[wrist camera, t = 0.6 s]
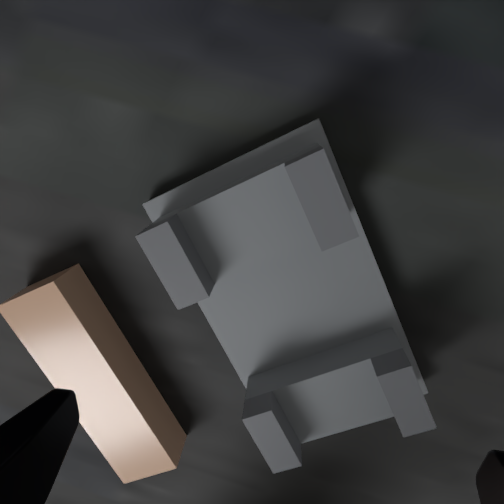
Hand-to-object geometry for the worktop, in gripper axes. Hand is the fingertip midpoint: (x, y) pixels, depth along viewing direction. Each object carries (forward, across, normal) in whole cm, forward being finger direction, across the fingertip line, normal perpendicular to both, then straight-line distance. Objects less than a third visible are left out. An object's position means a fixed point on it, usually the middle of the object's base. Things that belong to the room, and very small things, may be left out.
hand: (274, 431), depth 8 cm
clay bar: (+13, +10, +12) cm, 20 cm away
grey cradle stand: (+13, -1, +5) cm, 14 cm away
